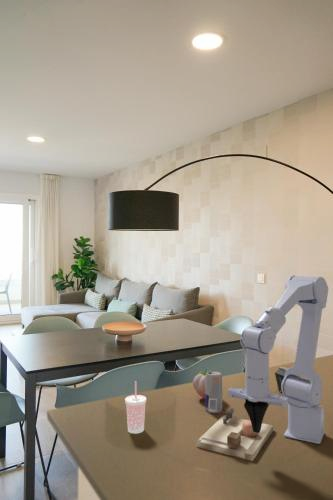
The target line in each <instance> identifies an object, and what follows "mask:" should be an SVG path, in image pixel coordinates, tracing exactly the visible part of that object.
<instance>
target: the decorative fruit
mask: <svg viewBox="0 0 333 500" xmlns="http://www.w3.org/2000/svg"><path fill="white" fill-rule="evenodd" d="M206 372H207V371H199V372H198V374H196V375H195V377H193V380H192V386H193V389H194V390H195V392H196V393H197V395H198V396H199V397H201V398H202V399H204V400H205V375H206Z"/></svg>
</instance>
